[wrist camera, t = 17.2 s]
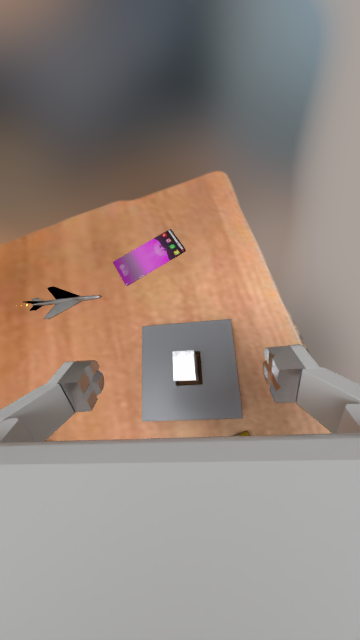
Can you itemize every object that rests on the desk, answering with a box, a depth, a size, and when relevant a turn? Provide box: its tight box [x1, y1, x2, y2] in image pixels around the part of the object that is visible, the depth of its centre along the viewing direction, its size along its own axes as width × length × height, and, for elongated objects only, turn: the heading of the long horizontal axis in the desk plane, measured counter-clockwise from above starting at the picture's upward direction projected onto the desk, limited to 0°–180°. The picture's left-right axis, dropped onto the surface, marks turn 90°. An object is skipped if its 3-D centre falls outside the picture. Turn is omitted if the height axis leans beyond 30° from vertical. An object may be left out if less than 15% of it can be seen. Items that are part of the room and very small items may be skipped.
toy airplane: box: [25, 287, 102, 319], centre depth 45 cm, size 8×21×2 cm, turn 94°
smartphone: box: [113, 229, 186, 285], centre depth 46 cm, size 7×15×1 cm, turn 120°
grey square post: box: [172, 350, 199, 381], centre depth 34 cm, size 4×3×10 cm
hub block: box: [142, 319, 243, 421], centre depth 37 cm, size 16×16×3 cm
